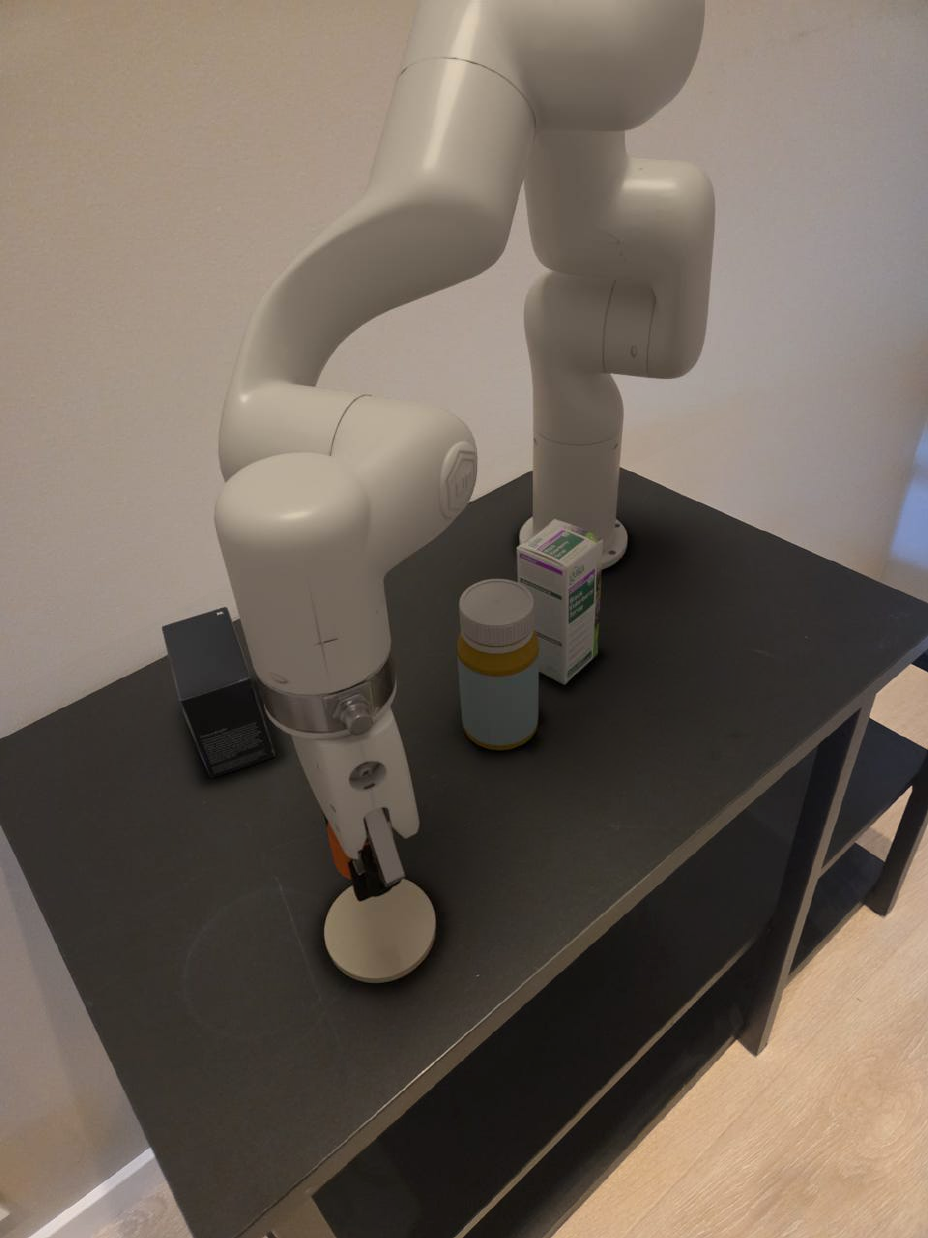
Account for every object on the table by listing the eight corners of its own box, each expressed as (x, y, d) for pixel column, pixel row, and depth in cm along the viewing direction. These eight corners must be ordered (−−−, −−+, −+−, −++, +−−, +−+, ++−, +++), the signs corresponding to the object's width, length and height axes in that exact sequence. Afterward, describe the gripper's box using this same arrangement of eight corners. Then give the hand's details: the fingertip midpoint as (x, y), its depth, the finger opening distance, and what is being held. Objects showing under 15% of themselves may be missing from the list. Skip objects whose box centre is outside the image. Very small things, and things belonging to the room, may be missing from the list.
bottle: (532, 759, 78) (532, 633, 68) (455, 749, 79) (445, 624, 69) (542, 703, 83) (544, 579, 73) (470, 695, 84) (463, 572, 74)
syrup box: (565, 687, 84) (569, 567, 75) (517, 661, 87) (515, 543, 78) (598, 655, 88) (606, 537, 78) (551, 632, 91) (553, 515, 81)
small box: (187, 704, 85) (157, 623, 78) (252, 684, 87) (228, 603, 80) (206, 781, 77) (175, 699, 71) (278, 757, 79) (254, 675, 72)
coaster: (346, 873, 70) (344, 867, 69) (447, 890, 68) (447, 885, 67) (309, 971, 63) (307, 966, 63) (420, 993, 62) (419, 988, 61)
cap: (340, 888, 57) (332, 855, 55) (329, 842, 60) (321, 809, 58) (397, 872, 58) (392, 838, 56) (384, 827, 61) (378, 793, 59)
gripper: (454, 745, 44) (469, 938, 55) (336, 573, 55) (369, 763, 67) (313, 804, 41) (361, 993, 53) (220, 611, 53) (276, 801, 64)
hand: (365, 863), depth 60 cm, fingers closed on cap, 3 cm apart
